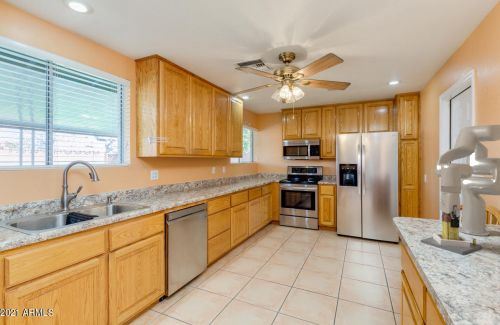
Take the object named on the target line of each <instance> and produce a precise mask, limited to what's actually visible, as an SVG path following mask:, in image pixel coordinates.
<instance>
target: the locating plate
mask: <svg viewBox="0 0 500 325" xmlns="http://www.w3.org/2000/svg"><path fill="white" fill-rule="evenodd" d="M420 243H422V244H426V245H429V246H432V247H436V248H438V249H443V250H445V251H449V252H452V253H456V254H459V255H465V254H468V253H472V252H475V251H478V250H480V249H481V250H482V249H483V245H482V244H477V238H474V237H473V238H472V242H470V241H468V239H466V238H464V237H463V236H462V235H459V241H456V240H446V239H443V238H442V233H435V232H434V233H432V236H430V237H427V238H423V239H421V240H420Z"/></svg>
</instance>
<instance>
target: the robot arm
mask: <svg viewBox="0 0 500 325" xmlns="http://www.w3.org/2000/svg"><path fill="white" fill-rule="evenodd" d="M495 141H500V124H484V125H483V124H482V125H473V126H466V127H464V128H463V127H462V129H460V131H459V133H458V135H457V139H456V141H455V144H454V147H452V148H450V149H448V150H447V151H445V152H444V153H442V155H440V156H439V158H438V160H437V162H436V164H435V169H434V171H435V172H434V173H435V175H436V176H437V177H439V178H440V204H439V210H441V215H442V214H443V212H445V213H446V214H449V213H450V215H451V218H452V219H450V227H452V228H459V233H460V232H461V233H463V234H467V235H470V236H479V237H487V236H488V237H489V236H490V232H489V231H488V230H486V229H487V228H488V225H487V224H486V221H487V220H486V218H487V217H486V215H487V214H486V211H487V210H486V208H487V207H486V205H487V204H486V201H485V199H484V198H483V197H482V195H483V196H484V195H487V196H498V197H499V196H500V157H488V154H489V149H488V148H487V147H486V145H484V144H483V143H482V142H495ZM463 158H466V159H465V160H466V162H465V163H456V162H455V163H453V161H456V160H460V159H463ZM451 162H452V163H451ZM473 175H475V176H473ZM476 175H477V176H476ZM479 175H480V176H479ZM489 176H492V177H489ZM460 194H461V195H462V196H461V197H462V200H461V198H460ZM461 202H462V203H461ZM461 204H462V207H461ZM461 208H462V209H461ZM461 213H462V214H461ZM453 215H454V216H453ZM461 216H462V217H461ZM460 217H461V218H460ZM460 219H461V222H462V224H461V227H460Z"/></svg>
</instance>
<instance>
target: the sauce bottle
mask: <svg viewBox="0 0 500 325" xmlns="http://www.w3.org/2000/svg"><path fill="white" fill-rule="evenodd" d="M453 216H454V215H453ZM450 219H452V218H451V215H450V213H449V214H446V213H445V212H443V214H442V213H441V234H442V238H443V239H446V240H456V241H459V236H460V231H459V228H460V227H459V228H452V227H450Z"/></svg>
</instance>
